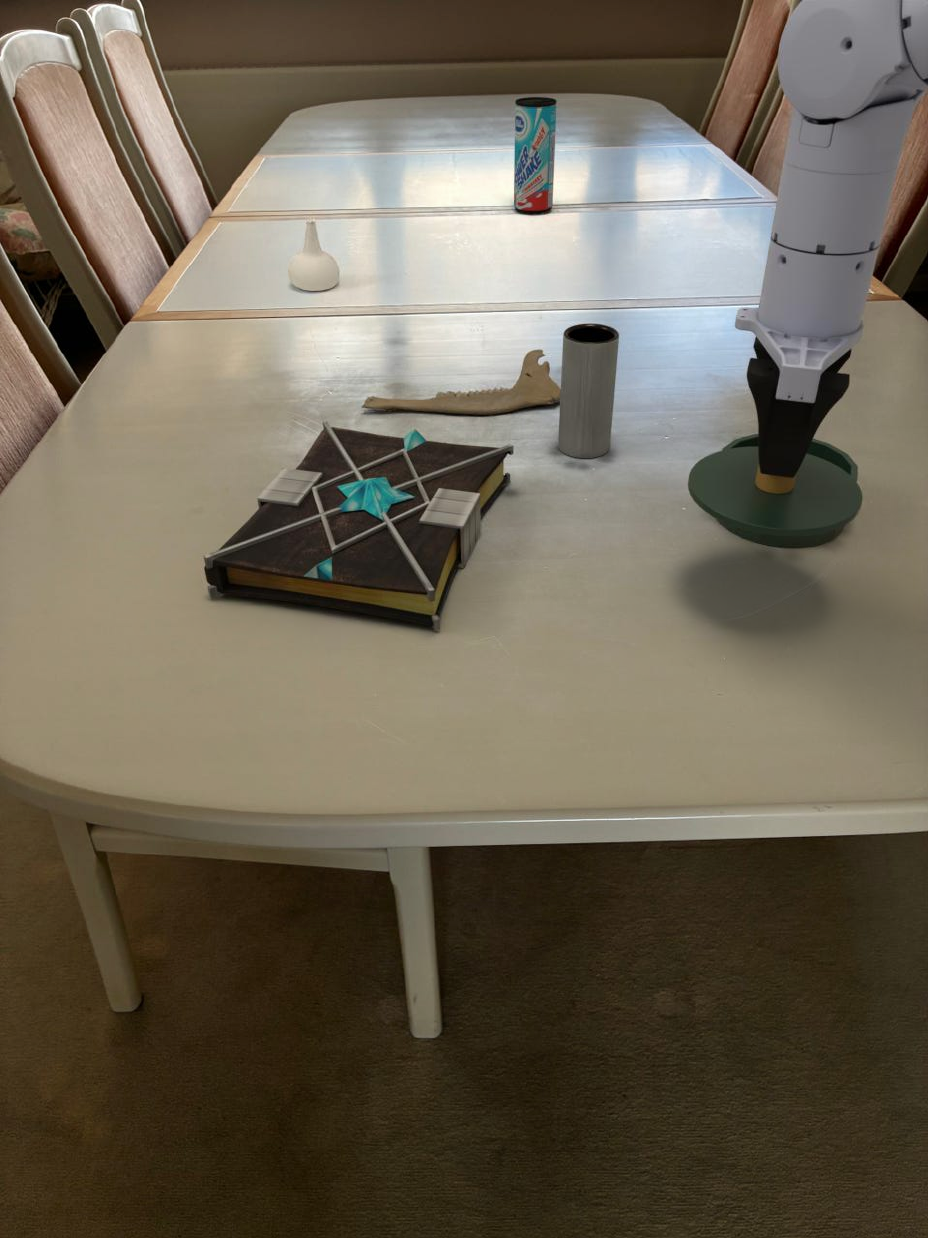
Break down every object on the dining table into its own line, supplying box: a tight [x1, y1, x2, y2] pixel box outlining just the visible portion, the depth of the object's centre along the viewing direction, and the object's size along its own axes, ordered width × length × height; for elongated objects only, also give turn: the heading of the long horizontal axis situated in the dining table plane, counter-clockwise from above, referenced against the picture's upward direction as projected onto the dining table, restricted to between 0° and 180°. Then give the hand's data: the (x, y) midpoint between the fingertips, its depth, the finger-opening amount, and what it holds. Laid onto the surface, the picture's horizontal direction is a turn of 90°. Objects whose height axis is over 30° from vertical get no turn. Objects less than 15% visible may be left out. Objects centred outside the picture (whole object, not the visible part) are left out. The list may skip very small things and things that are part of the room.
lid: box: [687, 447, 863, 536], centre depth 60 cm, size 11×11×6 cm
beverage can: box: [513, 96, 558, 216], centre depth 142 cm, size 6×6×15 cm
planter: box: [557, 323, 620, 459], centre depth 81 cm, size 4×4×10 cm
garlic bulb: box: [287, 218, 340, 292], centre depth 118 cm, size 6×6×8 cm
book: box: [202, 420, 514, 632], centre depth 72 cm, size 22×17×5 cm
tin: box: [716, 433, 859, 549], centre depth 74 cm, size 10×10×4 cm
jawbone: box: [361, 349, 561, 416], centre depth 91 cm, size 9×20×2 cm, turn 119°
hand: (778, 462), depth 61 cm, fingers closed on lid, 2 cm apart
